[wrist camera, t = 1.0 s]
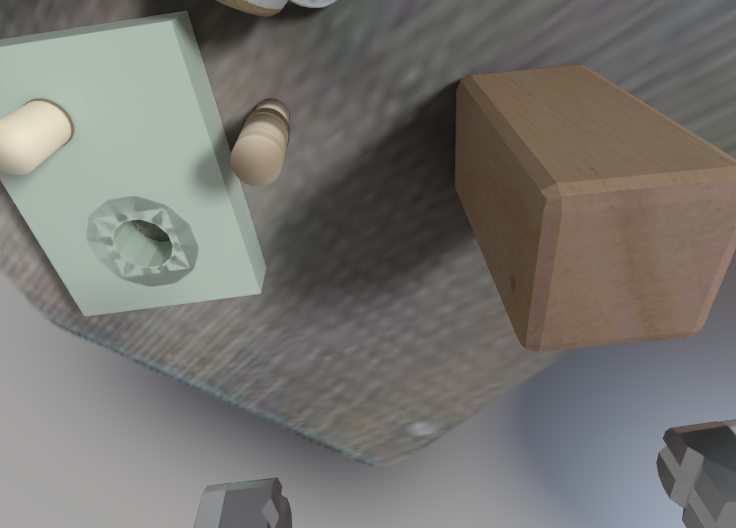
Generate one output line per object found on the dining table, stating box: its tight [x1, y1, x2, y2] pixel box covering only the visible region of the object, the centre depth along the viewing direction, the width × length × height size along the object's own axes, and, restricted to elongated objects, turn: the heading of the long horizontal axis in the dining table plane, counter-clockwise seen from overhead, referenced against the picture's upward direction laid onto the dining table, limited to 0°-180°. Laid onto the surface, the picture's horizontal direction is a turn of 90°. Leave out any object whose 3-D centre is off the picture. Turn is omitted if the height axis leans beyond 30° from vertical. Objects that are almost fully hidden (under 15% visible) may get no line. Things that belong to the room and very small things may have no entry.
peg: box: [230, 98, 290, 186], centre depth 35 cm, size 3×3×9 cm
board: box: [0, 11, 266, 317], centre depth 37 cm, size 22×16×9 cm
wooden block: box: [455, 64, 736, 352], centre depth 32 cm, size 10×10×20 cm
